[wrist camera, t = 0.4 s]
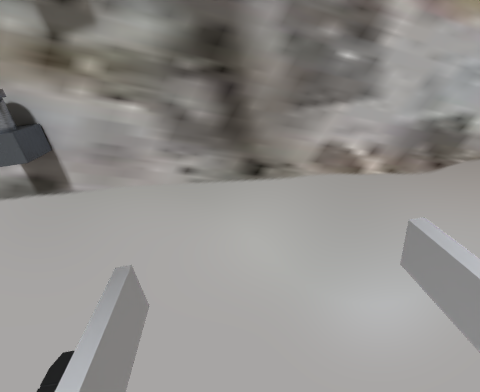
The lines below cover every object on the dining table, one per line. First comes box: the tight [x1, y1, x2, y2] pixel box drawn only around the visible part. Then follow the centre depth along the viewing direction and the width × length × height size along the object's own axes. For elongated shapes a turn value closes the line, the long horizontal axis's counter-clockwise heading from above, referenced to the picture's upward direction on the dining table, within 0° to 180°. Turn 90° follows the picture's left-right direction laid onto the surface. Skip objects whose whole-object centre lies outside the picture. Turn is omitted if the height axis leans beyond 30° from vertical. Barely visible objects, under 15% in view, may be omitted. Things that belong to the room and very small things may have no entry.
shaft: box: [0, 89, 52, 167], centre depth 31 cm, size 8×5×5 cm, turn 7°
